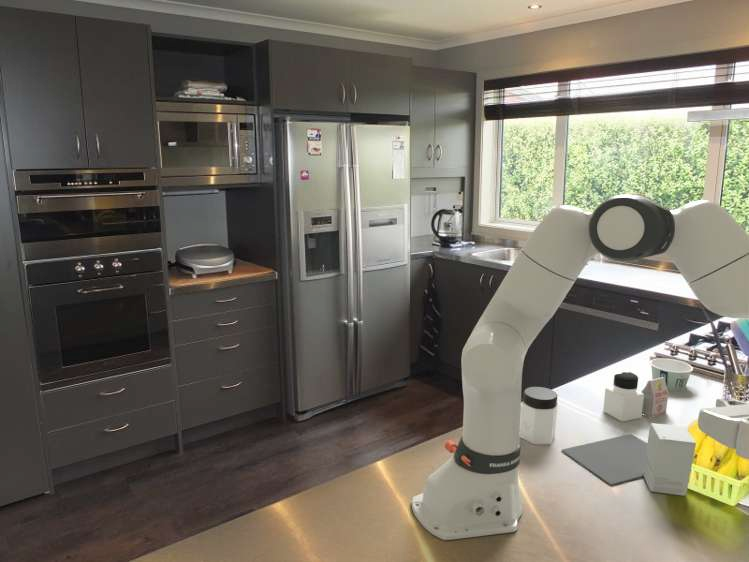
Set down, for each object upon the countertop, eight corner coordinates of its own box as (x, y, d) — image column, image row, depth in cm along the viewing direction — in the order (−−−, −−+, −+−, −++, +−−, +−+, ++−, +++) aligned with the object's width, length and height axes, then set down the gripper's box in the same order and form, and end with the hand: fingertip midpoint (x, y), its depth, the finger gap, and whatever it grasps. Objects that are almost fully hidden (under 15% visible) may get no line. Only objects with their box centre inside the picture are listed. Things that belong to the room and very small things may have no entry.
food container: (658, 374, 190) (660, 355, 189) (697, 385, 182) (700, 366, 180) (640, 383, 183) (642, 363, 182) (680, 395, 174) (682, 375, 173)
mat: (610, 485, 127) (610, 484, 127) (561, 451, 141) (561, 449, 141) (684, 466, 135) (684, 464, 135) (630, 435, 150) (630, 433, 149)
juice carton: (638, 412, 163) (642, 378, 160) (654, 407, 166) (658, 374, 164) (650, 417, 160) (654, 383, 157) (665, 412, 163) (670, 378, 161)
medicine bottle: (641, 418, 159) (646, 376, 157) (621, 422, 157) (626, 380, 154) (622, 407, 166) (626, 367, 163) (602, 411, 163) (606, 370, 160)
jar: (512, 433, 150) (515, 390, 147) (535, 426, 154) (538, 383, 151) (538, 448, 142) (542, 403, 140) (562, 440, 146) (566, 396, 144)
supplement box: (687, 496, 123) (697, 443, 120) (649, 491, 125) (658, 438, 121) (676, 476, 130) (686, 425, 127) (641, 472, 132) (649, 421, 128)
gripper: (842, 413, 99) (771, 382, 112) (739, 424, 94) (678, 390, 107) (835, 447, 100) (766, 412, 113) (734, 459, 96) (674, 422, 109)
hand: (722, 401), depth 110 cm, fingers closed
